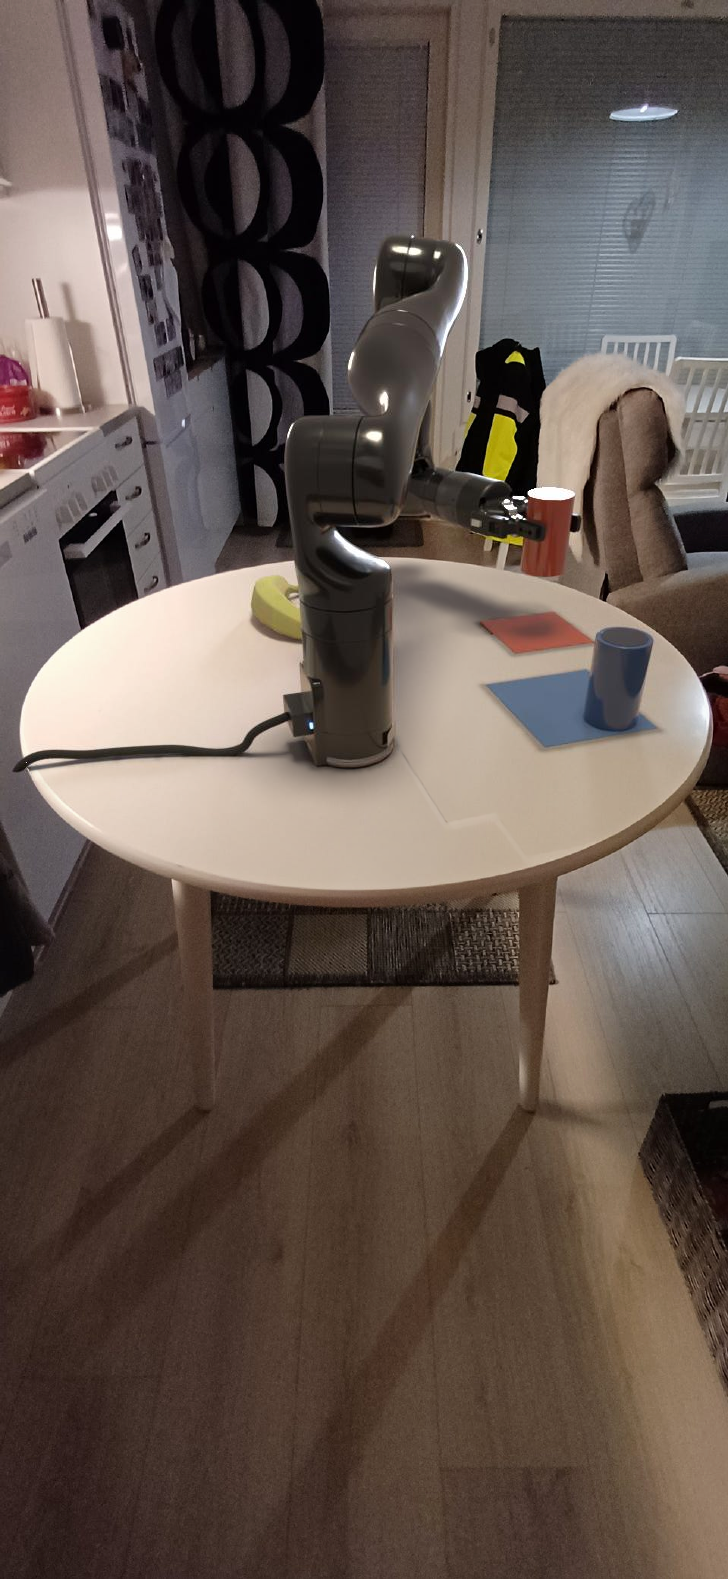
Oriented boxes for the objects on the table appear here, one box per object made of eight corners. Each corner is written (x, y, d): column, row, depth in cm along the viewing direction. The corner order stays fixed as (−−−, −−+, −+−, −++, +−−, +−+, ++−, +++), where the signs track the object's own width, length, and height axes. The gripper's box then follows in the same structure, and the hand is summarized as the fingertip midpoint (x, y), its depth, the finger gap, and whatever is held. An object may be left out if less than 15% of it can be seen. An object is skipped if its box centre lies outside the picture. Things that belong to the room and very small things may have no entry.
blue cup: (599, 735, 86) (614, 651, 80) (573, 710, 91) (585, 630, 85) (647, 726, 87) (665, 643, 82) (618, 703, 92) (633, 623, 87)
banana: (234, 588, 107) (275, 561, 125) (227, 625, 110) (268, 593, 127) (327, 618, 107) (355, 587, 124) (317, 655, 109) (346, 619, 127)
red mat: (514, 655, 105) (515, 653, 105) (479, 623, 114) (480, 621, 114) (594, 644, 107) (594, 642, 107) (553, 613, 117) (553, 611, 117)
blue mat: (544, 749, 84) (544, 747, 84) (485, 686, 97) (485, 684, 97) (657, 730, 87) (657, 727, 87) (585, 671, 100) (586, 669, 100)
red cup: (532, 579, 102) (540, 500, 97) (512, 565, 107) (519, 489, 102) (572, 574, 104) (583, 496, 98) (552, 560, 109) (561, 486, 103)
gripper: (436, 483, 106) (525, 508, 95) (511, 468, 113) (603, 490, 102) (434, 538, 110) (519, 569, 99) (507, 520, 117) (594, 547, 106)
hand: (561, 529), depth 100 cm, fingers closed on red cup, 6 cm apart
